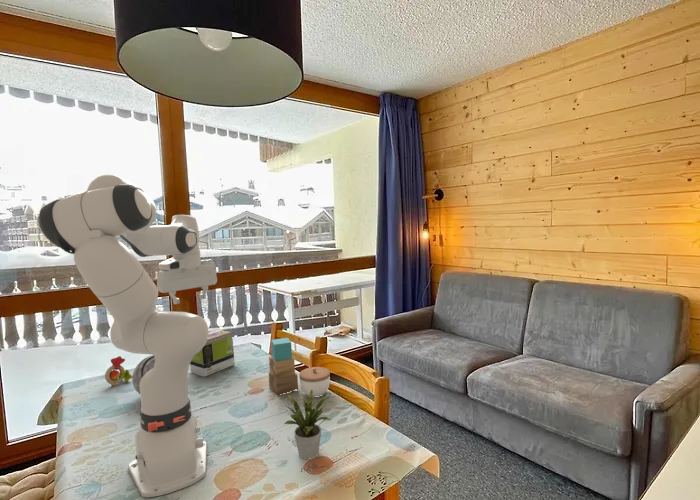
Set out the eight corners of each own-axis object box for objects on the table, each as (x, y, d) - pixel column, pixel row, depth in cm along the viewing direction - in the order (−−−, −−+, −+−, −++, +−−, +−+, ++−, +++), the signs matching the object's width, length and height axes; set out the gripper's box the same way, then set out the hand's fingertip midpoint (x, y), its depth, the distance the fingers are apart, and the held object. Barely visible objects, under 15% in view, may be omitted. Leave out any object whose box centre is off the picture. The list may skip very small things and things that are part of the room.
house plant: (344, 466, 97) (342, 402, 95) (288, 478, 93) (285, 412, 91) (331, 435, 110) (328, 379, 109) (281, 445, 106) (278, 387, 105)
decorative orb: (146, 409, 130) (142, 365, 129) (126, 398, 139) (122, 357, 137) (187, 392, 142) (184, 352, 140) (167, 383, 150) (164, 345, 149)
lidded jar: (314, 404, 130) (313, 376, 129) (293, 395, 137) (292, 369, 136) (337, 392, 138) (336, 367, 137) (316, 384, 145) (315, 360, 144)
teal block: (292, 358, 139) (291, 342, 139) (275, 361, 137) (274, 344, 137) (288, 353, 145) (287, 337, 144) (272, 356, 143) (271, 340, 142)
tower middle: (295, 374, 140) (294, 358, 140) (276, 379, 137) (275, 362, 136) (288, 368, 146) (287, 352, 146) (269, 372, 143) (269, 356, 142)
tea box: (220, 361, 173) (218, 328, 172) (235, 365, 167) (233, 331, 166) (189, 372, 161) (187, 337, 160) (204, 377, 155) (201, 341, 154)
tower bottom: (298, 390, 140) (297, 374, 140) (276, 396, 136) (276, 379, 136) (289, 383, 147) (289, 367, 147) (269, 388, 143) (268, 372, 143)
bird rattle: (119, 392, 149) (138, 374, 156) (105, 370, 144) (125, 353, 151) (108, 389, 152) (128, 372, 159) (94, 368, 147) (115, 352, 154)
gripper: (210, 258, 145) (212, 295, 146) (153, 264, 130) (156, 305, 131) (219, 259, 141) (221, 296, 142) (161, 265, 126) (164, 308, 127)
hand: (189, 301), depth 136 cm, fingers open, 8 cm apart
